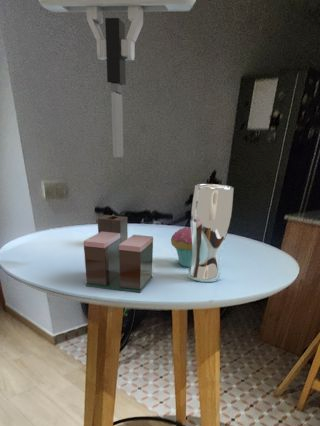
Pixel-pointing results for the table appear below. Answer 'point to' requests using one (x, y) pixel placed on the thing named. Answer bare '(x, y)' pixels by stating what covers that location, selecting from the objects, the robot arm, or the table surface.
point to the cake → (118, 261)
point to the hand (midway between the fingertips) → (116, 59)
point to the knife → (116, 79)
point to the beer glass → (209, 229)
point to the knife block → (114, 225)
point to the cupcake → (183, 245)
